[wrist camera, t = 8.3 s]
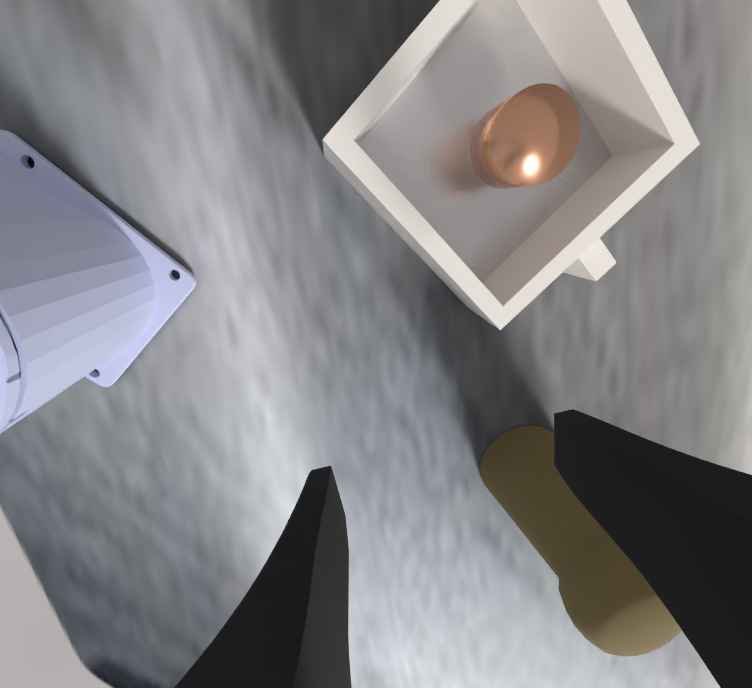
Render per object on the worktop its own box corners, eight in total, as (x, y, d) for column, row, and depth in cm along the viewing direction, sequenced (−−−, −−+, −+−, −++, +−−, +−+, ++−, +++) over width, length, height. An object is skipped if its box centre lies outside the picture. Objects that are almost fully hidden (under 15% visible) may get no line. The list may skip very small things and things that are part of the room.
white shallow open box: (324, 156, 17) (322, 139, 13) (494, -45, 15) (556, -138, 11) (487, 328, 21) (525, 356, 17) (636, 187, 19) (719, 181, 15)
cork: (552, 493, 27) (691, 670, 16) (474, 498, 26) (569, 687, 16) (570, 423, 25) (743, 576, 14) (486, 426, 24) (605, 590, 14)
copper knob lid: (348, 155, 17) (355, 134, 12) (496, -16, 15) (571, -117, 11) (470, 288, 20) (514, 313, 15) (605, 157, 18) (701, 138, 14)
